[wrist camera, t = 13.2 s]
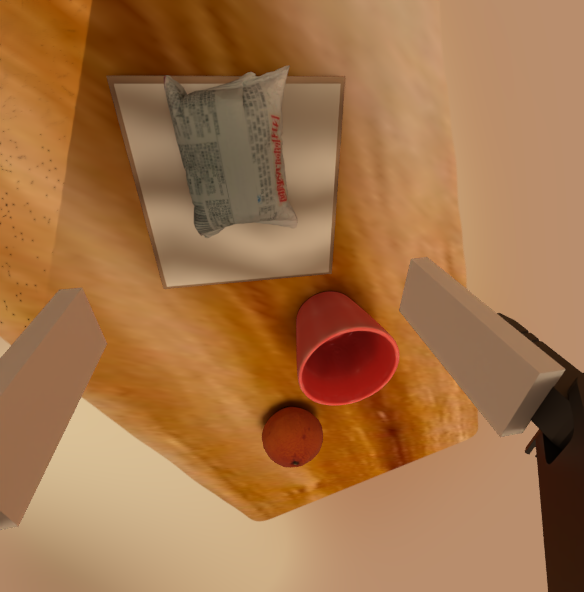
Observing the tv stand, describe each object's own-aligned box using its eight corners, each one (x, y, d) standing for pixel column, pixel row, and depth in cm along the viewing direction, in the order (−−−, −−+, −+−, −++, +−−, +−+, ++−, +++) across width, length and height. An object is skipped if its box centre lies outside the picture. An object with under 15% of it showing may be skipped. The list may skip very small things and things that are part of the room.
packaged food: (284, 69, 23) (295, 63, 19) (293, 221, 30) (303, 241, 26) (165, 77, 22) (151, 72, 18) (202, 232, 29) (197, 254, 25)
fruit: (249, 425, 48) (253, 477, 42) (282, 390, 45) (292, 439, 39) (293, 438, 52) (302, 487, 46) (326, 407, 49) (341, 454, 43)
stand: (112, 77, 23) (104, 75, 22) (339, 77, 26) (347, 75, 24) (166, 282, 33) (162, 291, 31) (327, 267, 36) (332, 275, 34)
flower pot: (265, 324, 38) (275, 383, 30) (328, 262, 35) (358, 310, 27) (322, 359, 44) (343, 418, 35) (381, 308, 40) (419, 360, 32)
